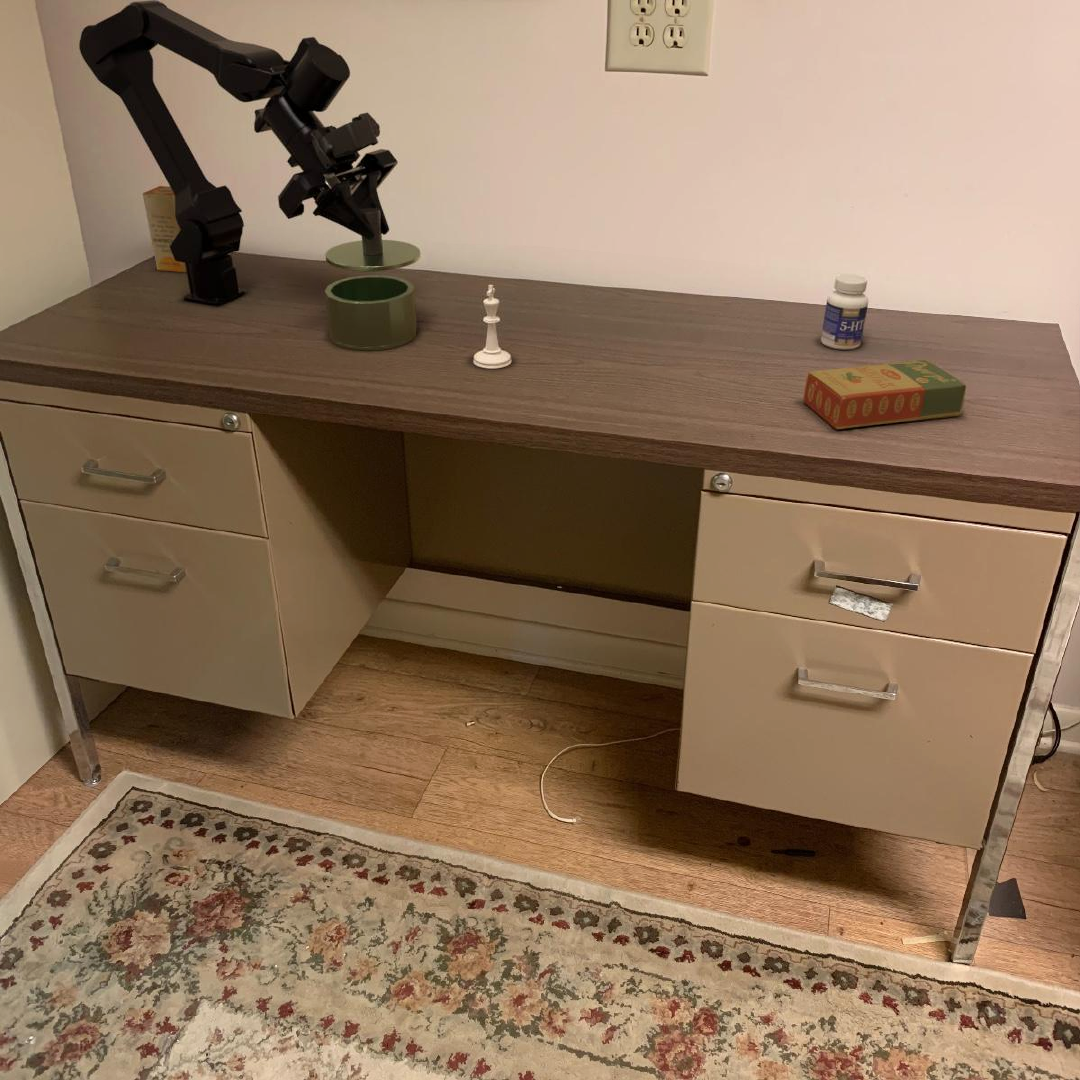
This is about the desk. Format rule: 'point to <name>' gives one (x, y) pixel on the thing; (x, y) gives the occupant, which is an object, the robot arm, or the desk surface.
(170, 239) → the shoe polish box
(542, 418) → the desk surface
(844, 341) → the pill bottle
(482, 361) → the chess piece
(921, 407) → the carton
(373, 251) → the lid
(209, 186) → the robot arm
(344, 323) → the tin
